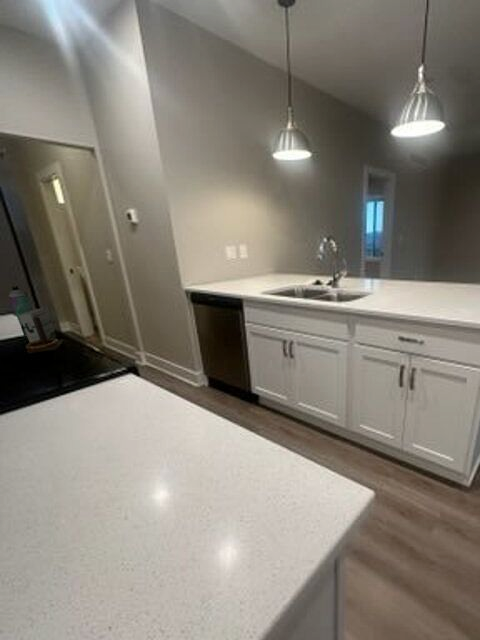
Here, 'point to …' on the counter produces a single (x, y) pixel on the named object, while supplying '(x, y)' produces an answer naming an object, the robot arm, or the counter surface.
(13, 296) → the spray can
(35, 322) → the peg on round base
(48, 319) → the ink box
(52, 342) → the ring
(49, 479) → the counter surface
